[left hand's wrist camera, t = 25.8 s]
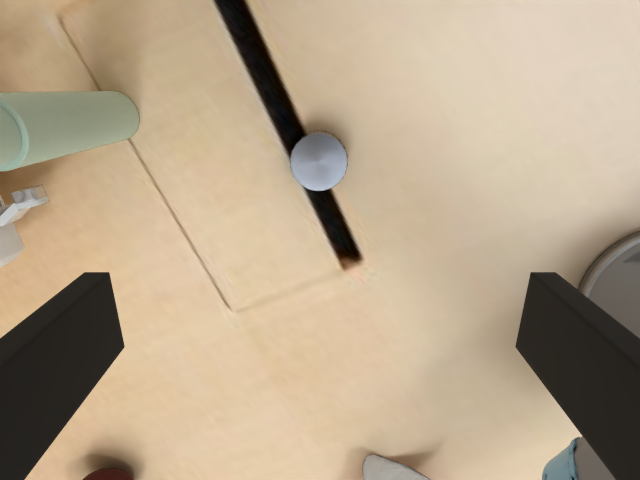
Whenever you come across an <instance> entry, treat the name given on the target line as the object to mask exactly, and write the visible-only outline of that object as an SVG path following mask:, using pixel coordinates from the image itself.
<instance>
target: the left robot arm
mask: <svg viewBox="0 0 640 480" xmlns="http://www.w3.org/2000/svg"><path fill="white" fill-rule="evenodd" d="M123 348H124V342H123V337H122V332H121V327H120V323H119V318H118V313H117V308H116V303H115V298H114V293H113V289H112V284H111V279H110V274H109V272H85V273H83V274H82V275H81V276H79V277H78V278H77V279H76V280H74V281H73V282H72V283H70V284H69V285H68V286H67V287H65V288H64V289H63V290H62V291H60V292H59V293H58V294H56V295H55V296H54V297H53V298H51V299H50V300H49V301H48V302H46V303H45V304H44V305H42V306H41V307H40V308H39V309H37V310H36V311H35V312H33V313H32V314H31V315H30V316H28V317H27V318H26V319H25V320H23V321H22V322H21V323H19V324H18V325H17V326H16V327H14V328H13V329H12V330H11V331H9V332H8V333H7V334H5V335H4V336H3V337H2V338H0V480H24V479H25V478H26V477H27V475H28V474H29V473H30V471H31V470H32V469H33V467H34V466H35V465H36V463H37V462H38V461H39V460H40V458H41V457H42V456H43V454H44V453H45V452H46V450H47V449H48V448H49V446H50V445H51V444H52V442H53V441H54V440H55V438H56V437H57V436H58V434H59V433H60V432H61V430H62V429H63V428H64V426H65V425H66V424H67V422H68V421H69V420H70V418H71V417H72V416H73V414H74V413H75V412H76V410H77V409H78V408H79V407H80V405H81V404H82V403H83V401H84V400H85V399H86V397H87V396H88V395H89V393H90V392H91V391H92V389H93V388H94V387H95V385H96V384H97V383H98V381H99V380H100V379H101V377H102V376H103V375H104V373H105V372H106V371H107V369H108V368H109V367H110V365H111V364H112V363H113V361H114V360H115V359H116V357H117V356H118V355H119V354H120V352H121V351H122V350H123ZM516 348H517V350H518V351H519V352H520V354H521V355H522V356H523V357H524V359H525V360H526V361H527V363H528V364H529V365H530V367H531V368H532V369H533V371H534V372H535V373H536V375H537V376H538V377H539V379H540V380H541V381H542V383H543V384H544V385H545V387H546V388H547V389H548V391H549V392H550V393H551V395H552V396H553V397H554V399H555V400H556V401H557V403H558V404H559V405H560V407H561V408H562V409H563V410H564V412H565V413H566V414H567V416H568V417H569V418H570V420H571V421H572V422H573V424H574V425H575V426H576V428H577V429H578V430H579V432H580V433H581V434H582V437H581V438H580V437H577V438H575V439H574V440H572V441H571V443H570V445H569V446H568V447H567V448H566V449H564V450H563V451H562V452H561V453H559V454H558V455H557V456H556V457H554V458H553V459H551V460H550V461H549V462H548V463H547V464H546V466H545V468H544V470H543V474H542V480H640V232H637V233H634V234H632V235H630V236H628V237H625V238H624V239H622V240H620V241H618V242H617V243H615V244H614V245H612V246H611V247H610V248H608V249H607V250H606V251H605V252H604V253H603V254H601V255H600V256H599V257H598V258H597V260H596V261H595V262H594V263H593V264H592V265H591V267H590V268H589V270H588V271H587V272H586V274H585V276H584V278H583V280H582V282H581V284H580V287H579V290H577V289H576V288H575V287H573V286H572V285H571V284H570V283H568V282H567V281H566V280H564V279H563V278H562V277H561V276H559V275H558V274H557V273H555V272H531V274H530V279H529V284H528V289H527V293H526V298H525V303H524V308H523V313H522V318H521V323H520V327H519V332H518V337H517V342H516Z"/></svg>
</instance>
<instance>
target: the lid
mask: <svg viewBox="0 0 640 480" xmlns="http://www.w3.org/2000/svg"><path fill="white" fill-rule="evenodd" d="M347 157H348V156H347V154H346V152H345V147H344V146H343V145H342V143H341V141H340V139H339V140H338V139H337V138H336V137H335V136H334V134H333V135H332V134H330V133H328V132H326V131H325V132H324V131H318V130H317V131H314V132H309V133H308V134H306V135H304V136H302V137H301V138H300V139H299V140H298V141H296V145H295V146H294V148H293V149H292V154H291V157H290V168H291V171H292V173H293V175H294V177H295V179H296V180H297V181H298V182H299V183H300V184H301V185H302V186H304V187H306V188H308V189H310V190H315V191H323V190H327V189H330V188H332V187H334V186H335V185H337V184H338V183H339V182H340V181H341V180H342V178H343V177H344V175H345V173H346V169H347V166H348V164H347Z"/></svg>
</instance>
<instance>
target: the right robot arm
mask: <svg viewBox="0 0 640 480" xmlns="http://www.w3.org/2000/svg"><path fill="white" fill-rule="evenodd" d="M11 195H12V197H13V199H14V203H13V204H8V205H5V203H4V201H3V199H2V197H1V195H0V268H1V267H3V266H5V265H7V264H8V263H10V262H12V261H14V260H15V259H16V258H18V257H19V255H20V254H21V252H22V251H23V249H24V244H23V242H22V240H21V237H20V235H19V233H18V231H17V229H16V227H15V225H14V223H13V222H14V221H16V220H18V219H21V218H22V217H23V216H24V214H25V213H26V212H27V211H28V210H29V209H30V208H31V207H35V206H39V205H42V204H44V203H47V202H49V201H50V200H49V198H48V196H47V194H46V191H45V189H44V187H43V185H37V186H34V187H33V186H31V187H26V188H23V189H20V190H17V191H14V192H11Z"/></svg>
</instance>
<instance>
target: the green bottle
mask: <svg viewBox="0 0 640 480" xmlns="http://www.w3.org/2000/svg"><path fill="white" fill-rule="evenodd" d="M138 126H139V114H138V111H137V108H136V106H135V105H134V103H133V102H132V101H131V100H130V99H129V98H128V97H127V96H125V95H124V94H122V93H119V92H116V91H74V92H5V93H0V171H9V170H13V169H16V168H20V167H24V166H28V165H32V164H35V163H39V162H43V161H47V160H50V159H54V158H58V157H62V156H65V155H69V154H73V153H77V152H81V151H84V150H88V149H92V148H96V147H99V146H103V145H107V144H111V143H114V142H118V141H122V140H126V139H128V138H130V137H132V136H133V135H134V134H135V132H136V131H137V129H138Z"/></svg>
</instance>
